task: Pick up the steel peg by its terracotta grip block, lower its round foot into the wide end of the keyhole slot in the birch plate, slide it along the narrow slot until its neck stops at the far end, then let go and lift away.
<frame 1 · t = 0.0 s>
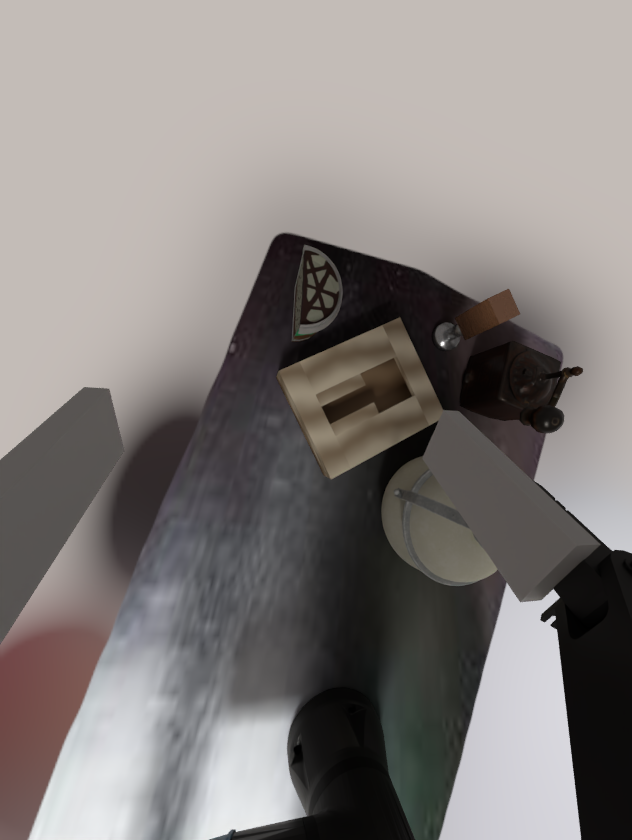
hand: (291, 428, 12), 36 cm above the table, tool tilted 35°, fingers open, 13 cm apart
kettle: (425, 507, 52), on the table
manual coffee grinder: (481, 400, 56), on the table
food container: (310, 317, 50), on the table
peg: (444, 337, 55), on the table
keyhole plate: (356, 398, 51), on the table
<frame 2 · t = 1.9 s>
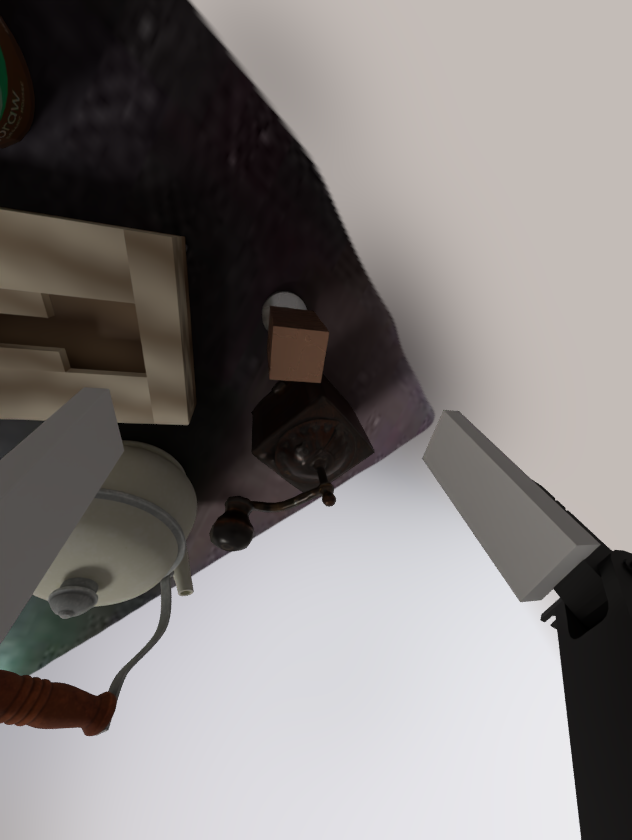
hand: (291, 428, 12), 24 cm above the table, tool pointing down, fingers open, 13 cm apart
kettle: (143, 484, 42), on the table
manual coffee grinder: (289, 419, 41), on the table
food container: (4, 98, 22), on the table
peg: (284, 314, 33), on the table
keyhole plate: (76, 320, 30), on the table
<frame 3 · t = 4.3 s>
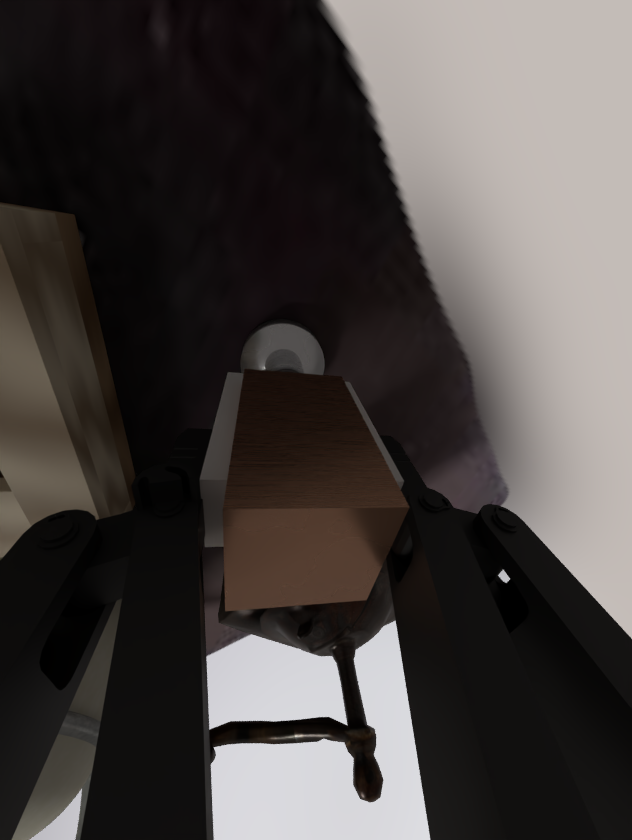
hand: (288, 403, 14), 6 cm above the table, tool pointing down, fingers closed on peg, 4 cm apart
kettle: (74, 593, 29), on the table
manual coffee grinder: (290, 507, 26), on the table
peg: (282, 359, 18), on the table, touching gripper
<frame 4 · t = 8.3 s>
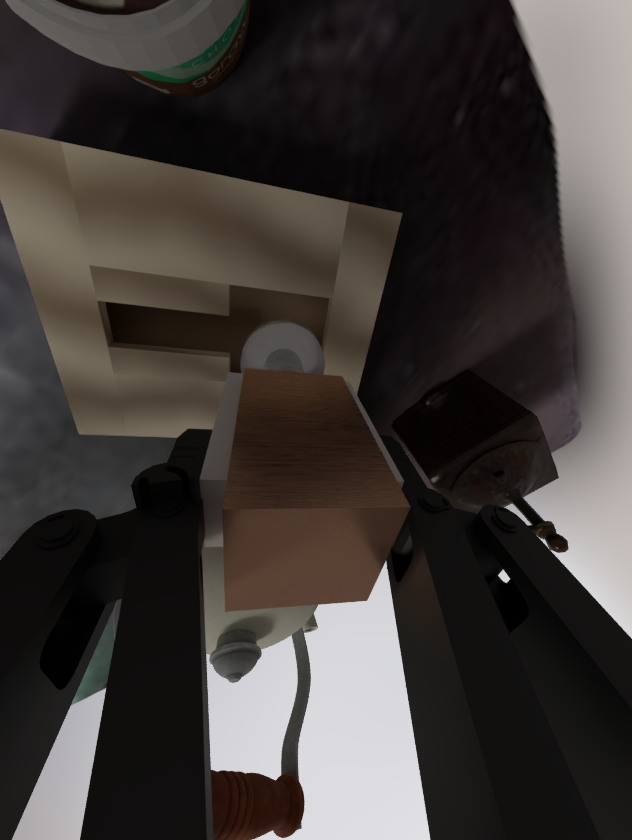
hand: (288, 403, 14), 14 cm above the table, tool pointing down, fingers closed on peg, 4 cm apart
kettle: (254, 503, 38), on the table
manual coffee grinder: (426, 433, 35), on the table
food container: (209, 27, 17), on the table
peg: (282, 359, 18), point 9 cm above the table, touching gripper
keyhole plate: (228, 319, 25), on the table
when the fingers open (7 cm above the table, at t = 12.5 s): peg stays where it is, resting on keyhole plate.
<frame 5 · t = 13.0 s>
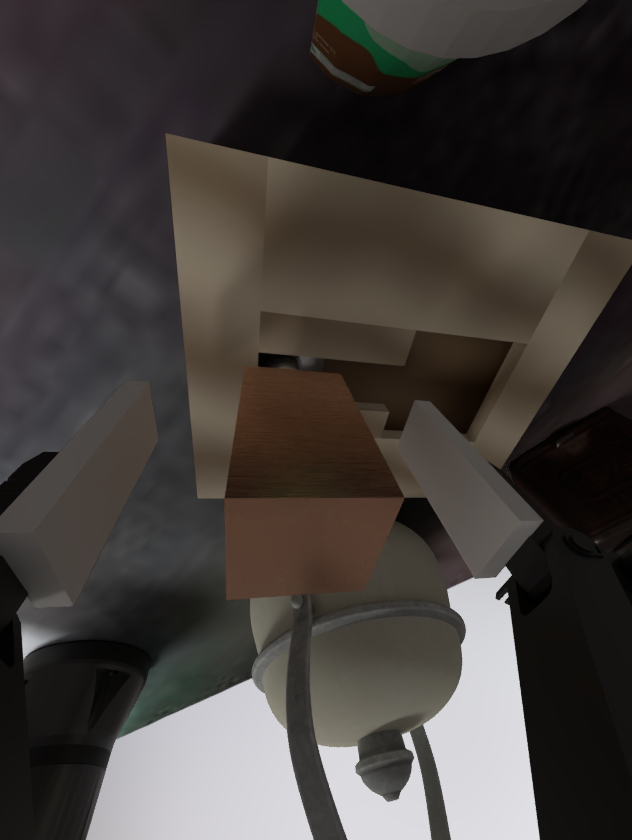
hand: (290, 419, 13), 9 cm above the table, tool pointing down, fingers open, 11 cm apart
kettle: (341, 547, 34), on the table
manual coffee grinder: (539, 473, 32), on the table
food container: (428, 6, 13), on the table
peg: (282, 357, 19), point 1 cm above the table, touching keyhole plate
keyhole plate: (364, 358, 21), on the table
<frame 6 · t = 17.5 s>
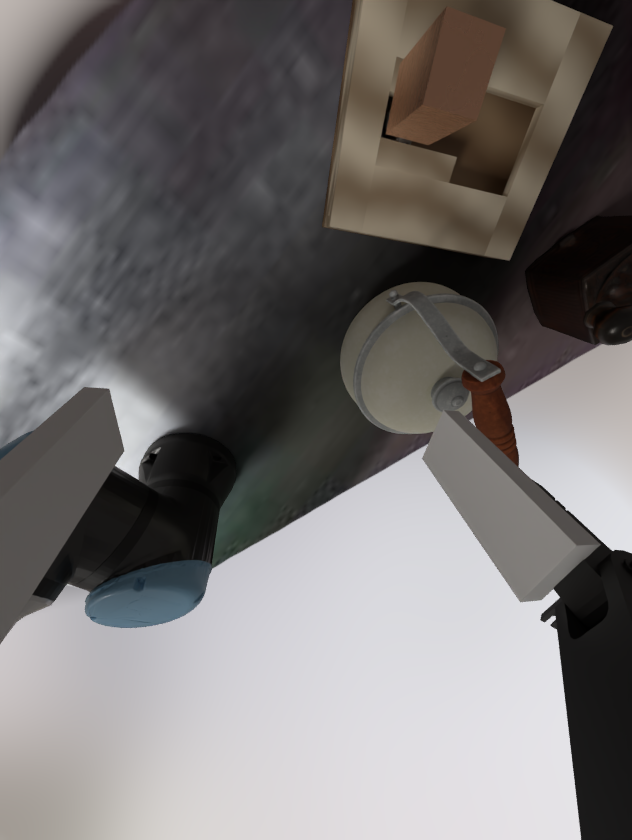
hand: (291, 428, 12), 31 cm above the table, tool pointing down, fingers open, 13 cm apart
kettle: (396, 352, 45), on the table
manual coffee grinder: (547, 286, 42), on the table
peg: (387, 129, 29), point 2 cm above the table, touching keyhole plate
keyhole plate: (433, 147, 32), on the table
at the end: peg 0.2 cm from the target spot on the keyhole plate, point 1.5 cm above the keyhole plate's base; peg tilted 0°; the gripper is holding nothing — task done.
